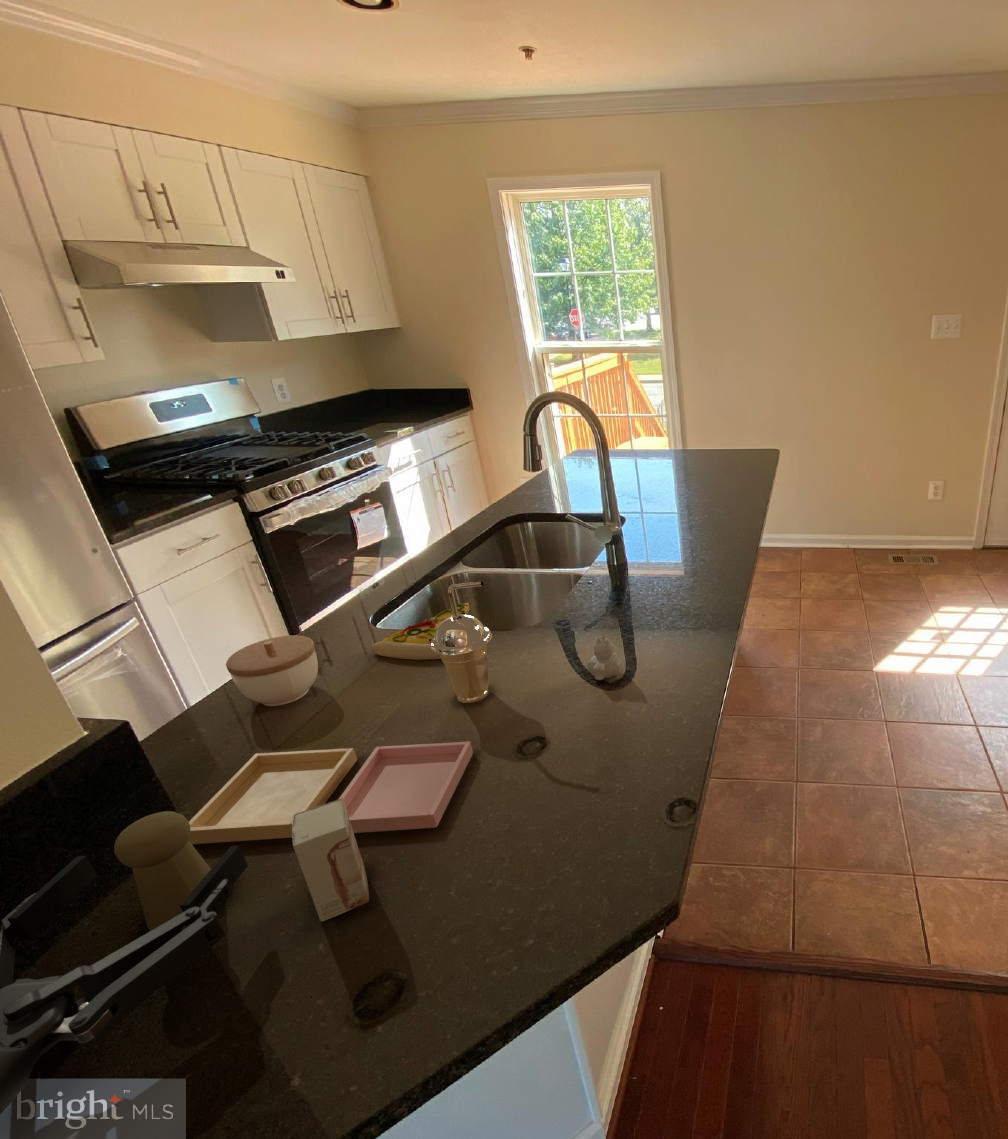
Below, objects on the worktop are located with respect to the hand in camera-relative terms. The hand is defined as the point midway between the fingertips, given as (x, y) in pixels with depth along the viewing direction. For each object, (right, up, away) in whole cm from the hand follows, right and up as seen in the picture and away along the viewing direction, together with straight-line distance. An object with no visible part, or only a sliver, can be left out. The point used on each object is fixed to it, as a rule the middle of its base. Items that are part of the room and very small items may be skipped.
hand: (164, 860), depth 59 cm
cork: (0, -6, +3) cm, 7 cm away
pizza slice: (-2, +16, +55) cm, 58 cm away
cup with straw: (+13, +8, +37) cm, 40 cm away
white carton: (+15, -6, +4) cm, 16 cm away
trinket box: (-16, +9, +36) cm, 41 cm away
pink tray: (+13, 0, +18) cm, 22 cm away
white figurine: (+32, +10, +42) cm, 54 cm away
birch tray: (-2, 0, +16) cm, 16 cm away
